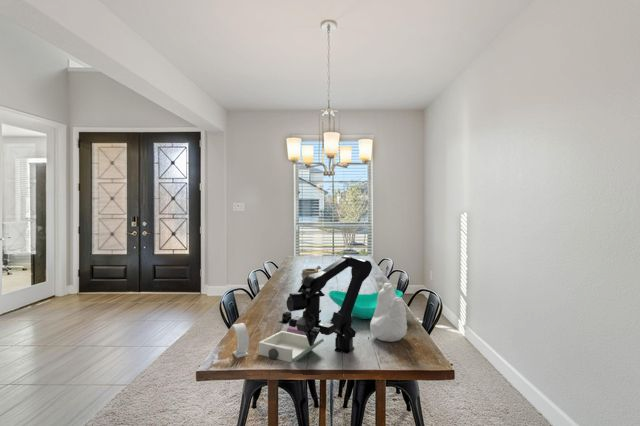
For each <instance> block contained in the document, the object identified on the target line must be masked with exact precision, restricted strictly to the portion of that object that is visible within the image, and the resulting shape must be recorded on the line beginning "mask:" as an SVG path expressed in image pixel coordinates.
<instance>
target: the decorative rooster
mask: <svg viewBox="0 0 640 426" xmlns="http://www.w3.org/2000/svg"><path fill="white" fill-rule="evenodd" d="M394 290H395V288H394V287H393V285H392V283H390V282H384V284H383V285H382V288H381V289H380V290H378V292H379V293H378V297H377V306H376V310H375V312H374V316H373V318H372V319H370V323H369V324H370V325H369V329H370V330H369V331H370V333H371V334H372V335H373V337H375V338H377V339H378V340H380V341H382V342H390V343H394V342H398V341H400V340H401V339H403V337H405V336H406V334H407V330H408V325H407V323H408V318H407V308H406V307H405V302H404V299H403V297H402V298H400V297H397V296H396V293H395V291H394Z"/></svg>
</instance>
